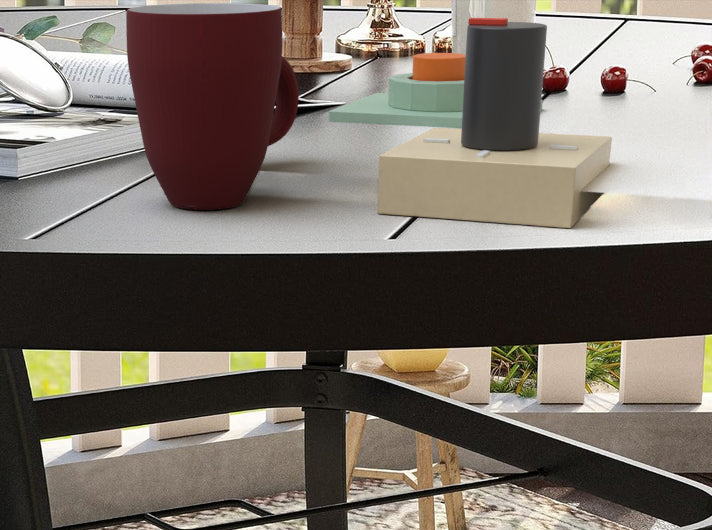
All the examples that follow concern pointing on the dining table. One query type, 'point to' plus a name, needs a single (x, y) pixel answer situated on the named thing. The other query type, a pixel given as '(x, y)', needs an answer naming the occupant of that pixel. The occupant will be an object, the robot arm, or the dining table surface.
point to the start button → (438, 67)
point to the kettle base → (408, 104)
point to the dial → (503, 84)
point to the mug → (209, 96)
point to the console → (492, 179)
